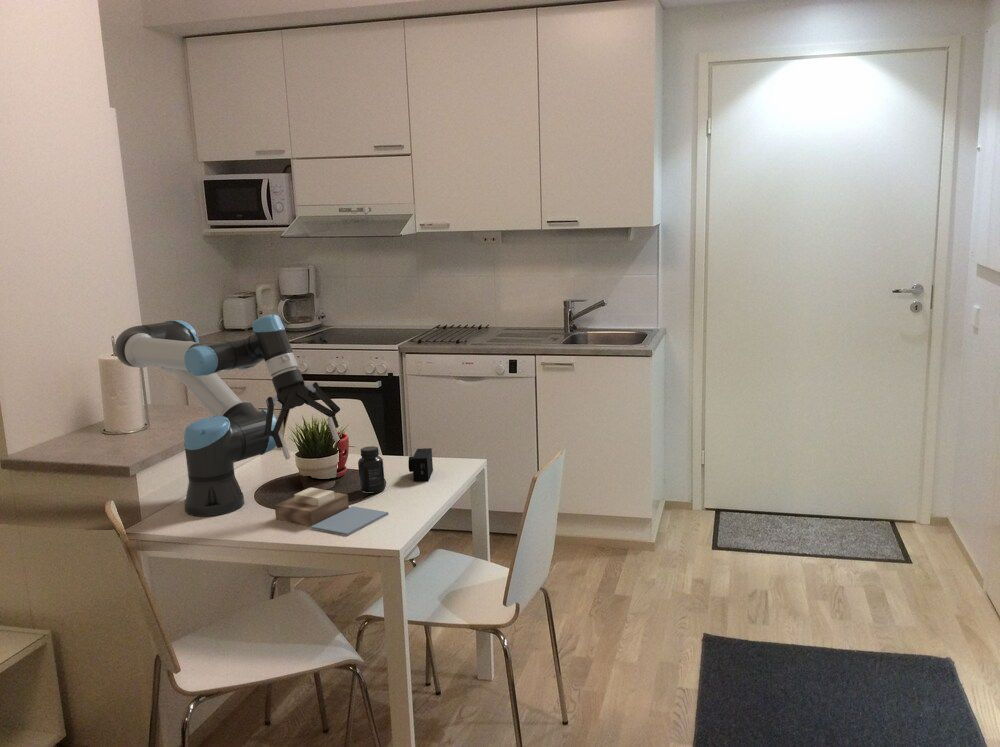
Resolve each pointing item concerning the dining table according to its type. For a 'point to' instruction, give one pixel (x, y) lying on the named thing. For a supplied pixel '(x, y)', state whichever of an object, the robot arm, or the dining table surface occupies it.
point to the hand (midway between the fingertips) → (313, 450)
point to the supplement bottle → (371, 470)
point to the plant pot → (342, 454)
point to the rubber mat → (349, 520)
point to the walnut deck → (310, 510)
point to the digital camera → (421, 465)
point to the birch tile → (314, 496)
